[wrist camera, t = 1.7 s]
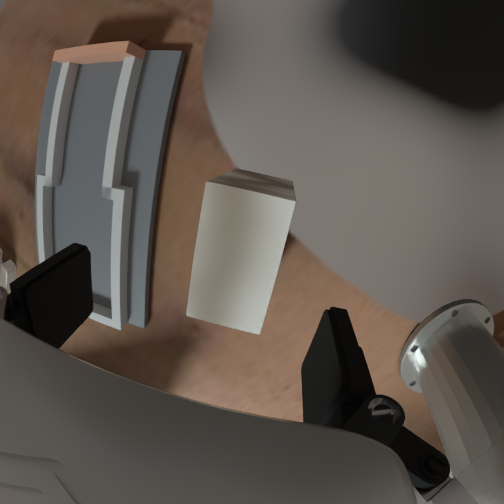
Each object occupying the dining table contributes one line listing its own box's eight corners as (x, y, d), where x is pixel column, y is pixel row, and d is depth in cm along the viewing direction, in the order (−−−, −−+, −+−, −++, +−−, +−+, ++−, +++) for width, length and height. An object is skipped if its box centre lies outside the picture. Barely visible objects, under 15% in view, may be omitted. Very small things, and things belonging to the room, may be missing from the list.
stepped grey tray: (185, 54, 19) (167, 39, 16) (148, 323, 29) (131, 345, 25) (58, 61, 20) (33, 55, 16) (45, 283, 29) (25, 298, 26)
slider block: (292, 181, 22) (295, 201, 14) (269, 272, 25) (259, 334, 17) (236, 168, 23) (206, 181, 14) (218, 260, 25) (186, 315, 17)
